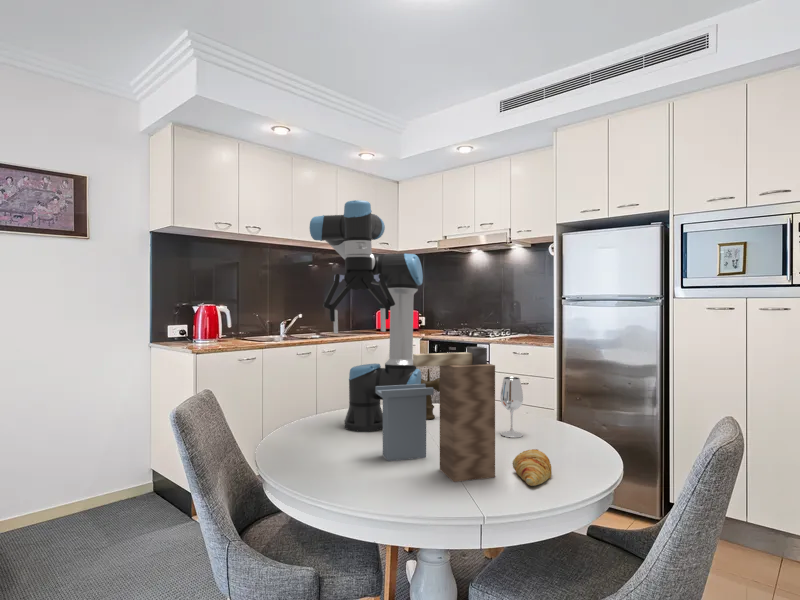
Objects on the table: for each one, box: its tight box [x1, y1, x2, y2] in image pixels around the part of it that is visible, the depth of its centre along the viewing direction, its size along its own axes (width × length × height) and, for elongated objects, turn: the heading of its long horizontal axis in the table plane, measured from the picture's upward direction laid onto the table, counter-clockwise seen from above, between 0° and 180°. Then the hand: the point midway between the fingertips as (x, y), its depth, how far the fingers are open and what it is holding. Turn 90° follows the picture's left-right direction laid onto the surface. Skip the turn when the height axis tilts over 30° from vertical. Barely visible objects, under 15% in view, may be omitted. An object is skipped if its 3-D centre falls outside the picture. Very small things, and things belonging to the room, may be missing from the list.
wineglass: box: [500, 376, 524, 439], centre depth 174 cm, size 8×8×20 cm
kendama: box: [421, 368, 440, 420], centre depth 198 cm, size 6×10×20 cm, turn 79°
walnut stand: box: [439, 362, 496, 483], centre depth 136 cm, size 12×10×30 cm
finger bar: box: [412, 346, 488, 368], centre depth 134 cm, size 20×4×4 cm, turn 107°
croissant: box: [511, 448, 552, 487], centre depth 135 cm, size 21×10×8 cm, turn 165°
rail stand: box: [376, 384, 435, 462], centre depth 151 cm, size 16×8×21 cm, turn 107°
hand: (359, 332), depth 140 cm, fingers open, 13 cm apart
